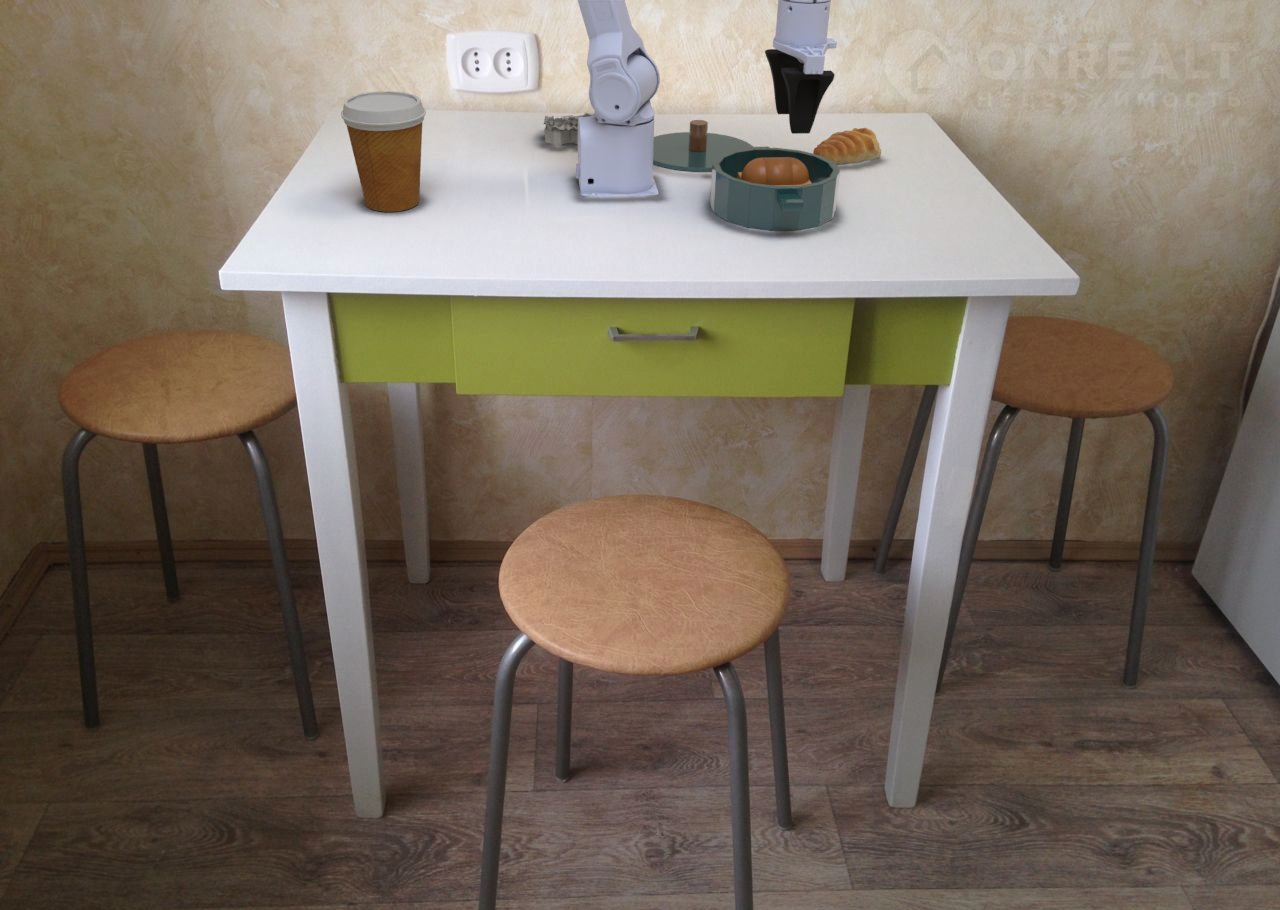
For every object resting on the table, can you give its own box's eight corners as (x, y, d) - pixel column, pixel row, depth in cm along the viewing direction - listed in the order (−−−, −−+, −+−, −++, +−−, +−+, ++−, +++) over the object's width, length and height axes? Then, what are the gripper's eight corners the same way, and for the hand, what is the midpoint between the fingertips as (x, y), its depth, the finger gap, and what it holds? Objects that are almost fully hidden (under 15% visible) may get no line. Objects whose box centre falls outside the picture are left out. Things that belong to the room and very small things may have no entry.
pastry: (836, 174, 148) (839, 144, 146) (799, 161, 153) (801, 132, 151) (884, 160, 153) (888, 132, 151) (846, 148, 158) (849, 121, 156)
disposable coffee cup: (402, 184, 141) (393, 85, 135) (448, 204, 136) (441, 102, 129) (335, 201, 136) (323, 99, 129) (381, 223, 130) (370, 117, 124)
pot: (725, 244, 127) (728, 197, 124) (699, 184, 144) (701, 141, 141) (853, 242, 128) (859, 195, 125) (813, 183, 145) (817, 140, 142)
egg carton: (621, 135, 161) (622, 106, 158) (620, 152, 154) (620, 121, 152) (545, 133, 161) (545, 103, 158) (541, 149, 154) (540, 119, 152)
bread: (743, 216, 133) (746, 165, 130) (735, 201, 137) (739, 152, 134) (810, 214, 134) (815, 164, 131) (800, 200, 138) (805, 151, 135)
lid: (645, 177, 146) (646, 140, 143) (633, 140, 159) (634, 106, 156) (765, 175, 147) (768, 139, 145) (744, 139, 160) (746, 105, 158)
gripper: (857, 12, 119) (842, 141, 126) (824, -14, 131) (812, 105, 138) (791, 12, 118) (780, 141, 126) (764, -14, 130) (755, 105, 138)
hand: (792, 122), depth 132 cm, fingers open, 7 cm apart
